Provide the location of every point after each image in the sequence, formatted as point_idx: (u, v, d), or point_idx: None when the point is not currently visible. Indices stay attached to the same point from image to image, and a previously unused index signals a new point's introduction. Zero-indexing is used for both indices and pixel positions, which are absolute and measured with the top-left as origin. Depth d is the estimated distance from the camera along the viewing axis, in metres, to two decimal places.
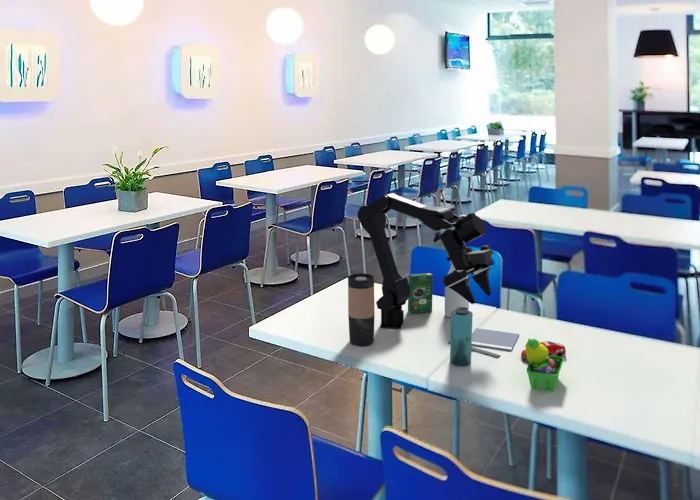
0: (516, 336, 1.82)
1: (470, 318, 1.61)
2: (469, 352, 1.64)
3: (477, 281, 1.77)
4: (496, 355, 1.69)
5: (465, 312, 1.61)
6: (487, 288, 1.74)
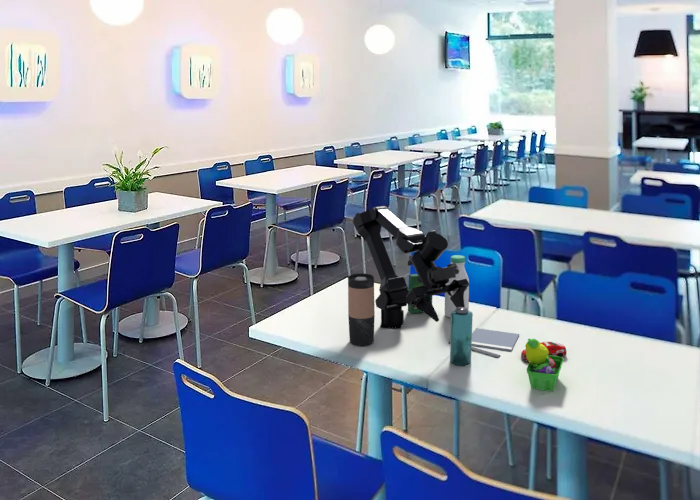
0: (516, 336, 1.82)
1: (470, 318, 1.61)
2: (469, 352, 1.64)
3: (454, 302, 1.73)
4: (496, 355, 1.69)
5: (465, 312, 1.61)
6: None
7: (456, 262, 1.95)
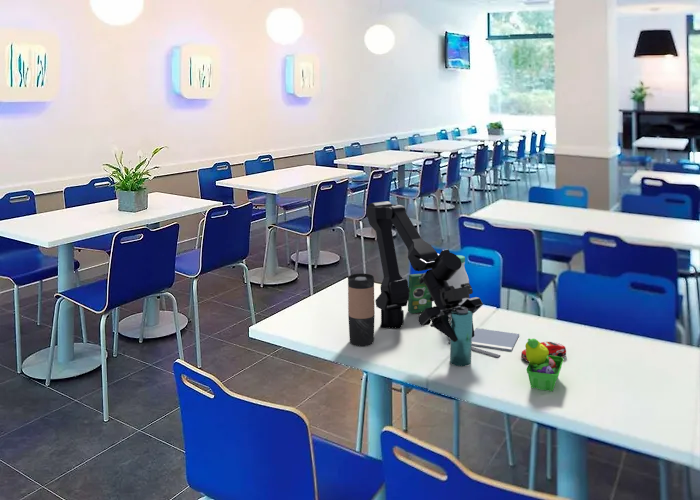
0: (516, 336, 1.82)
1: (470, 318, 1.61)
2: (469, 352, 1.63)
3: None
4: (496, 355, 1.69)
5: (465, 312, 1.61)
6: None
7: None
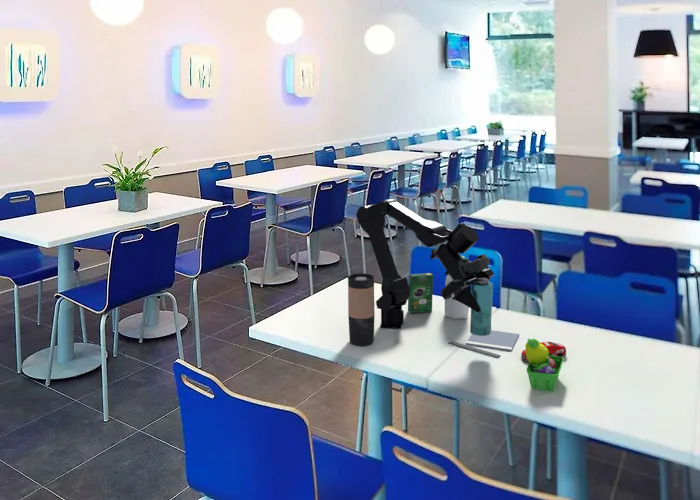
0: (516, 336, 1.82)
1: (492, 288, 1.66)
2: (490, 321, 1.68)
3: None
4: (496, 355, 1.69)
5: (487, 282, 1.66)
6: None
7: None
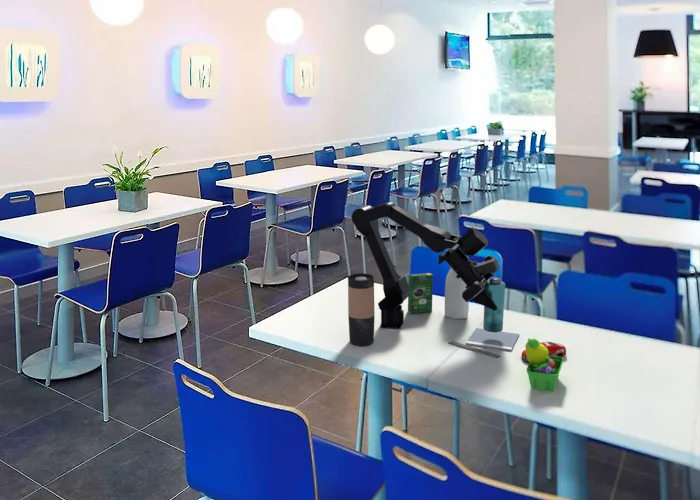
0: (516, 336, 1.82)
1: (504, 286, 1.77)
2: None
3: None
4: (496, 355, 1.69)
5: (500, 281, 1.76)
6: None
7: None
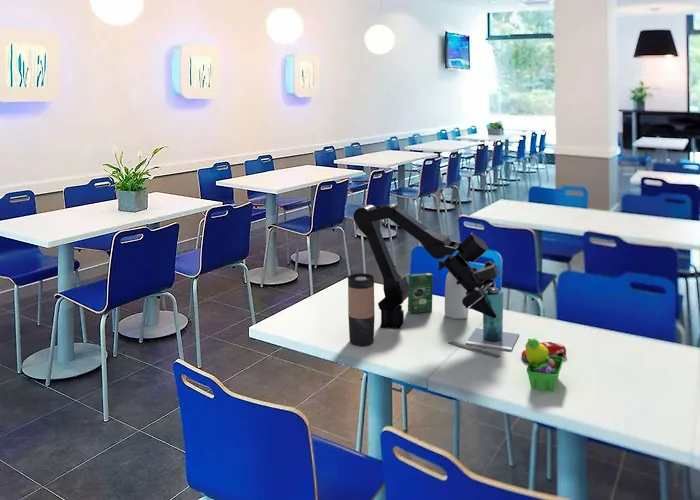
0: (516, 336, 1.82)
1: None
2: (502, 326, 1.80)
3: None
4: (496, 355, 1.69)
5: (498, 291, 1.77)
6: None
7: None
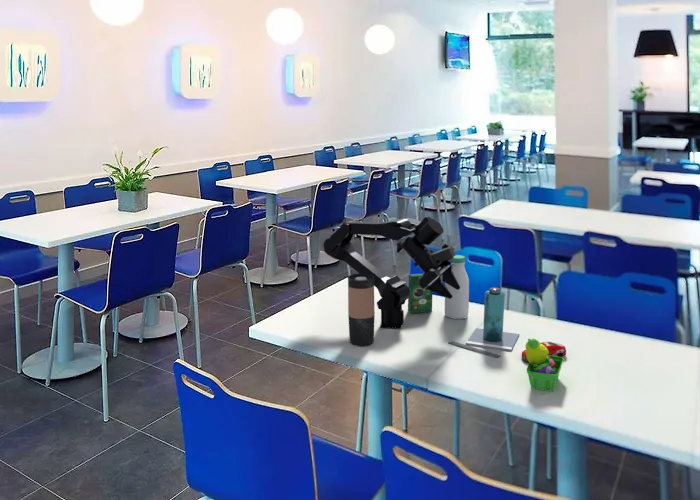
0: (516, 336, 1.82)
1: (504, 296, 1.77)
2: (502, 327, 1.80)
3: (444, 279, 1.87)
4: (496, 355, 1.69)
5: (500, 291, 1.77)
6: (455, 283, 1.85)
7: (456, 262, 1.95)
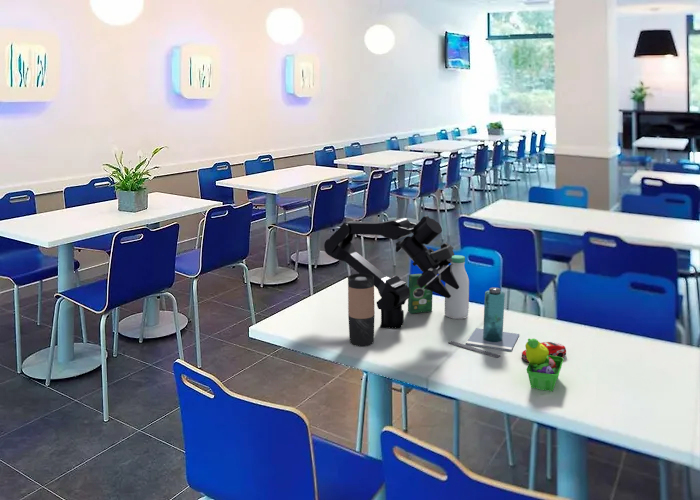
0: (516, 336, 1.82)
1: (504, 296, 1.77)
2: (502, 327, 1.80)
3: (443, 279, 1.87)
4: (496, 355, 1.69)
5: (500, 291, 1.77)
6: (454, 282, 1.85)
7: (456, 262, 1.95)
